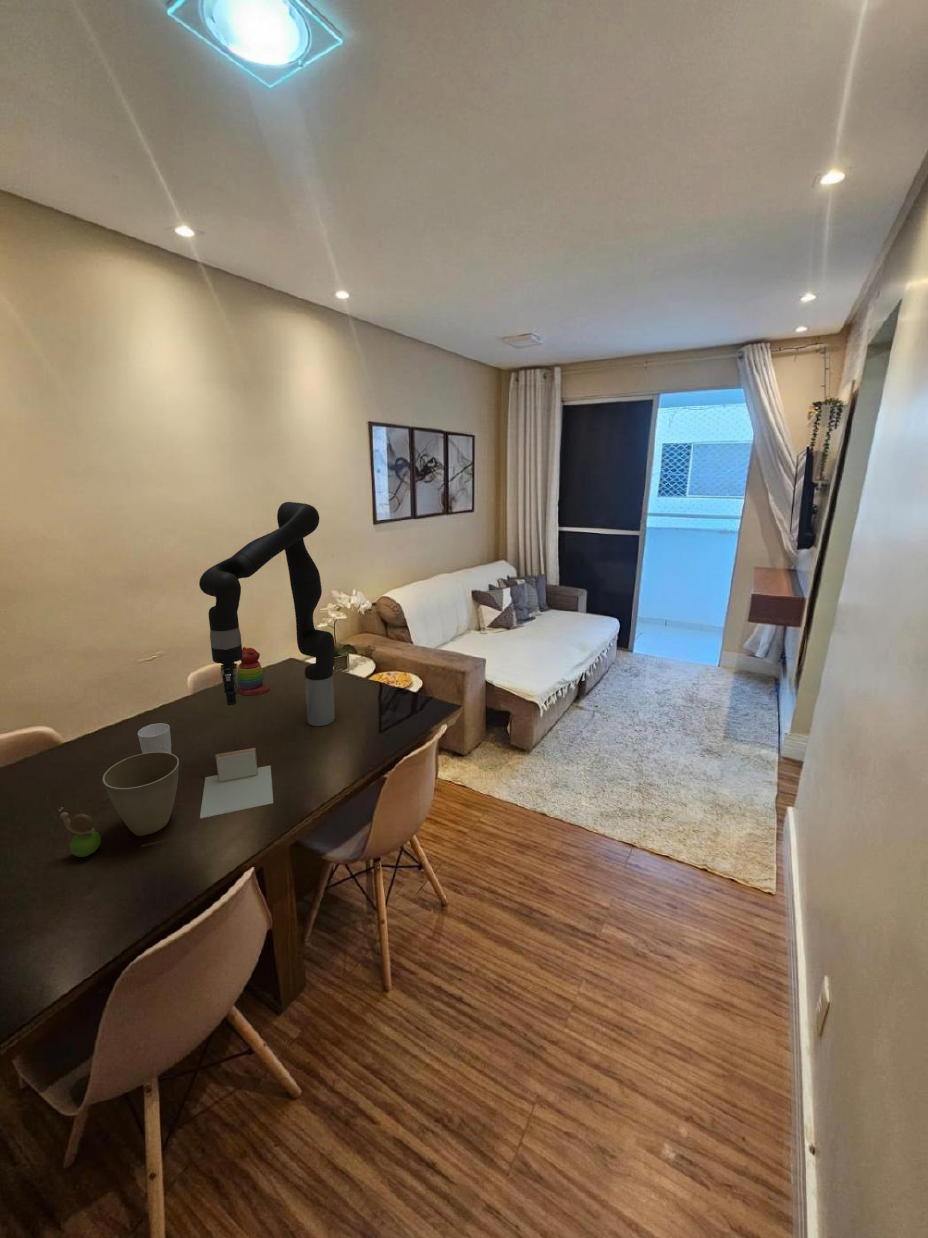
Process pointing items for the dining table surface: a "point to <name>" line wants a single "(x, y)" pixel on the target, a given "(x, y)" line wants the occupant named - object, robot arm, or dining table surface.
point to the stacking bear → (250, 673)
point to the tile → (236, 764)
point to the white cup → (155, 738)
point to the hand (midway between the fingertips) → (232, 699)
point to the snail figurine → (81, 834)
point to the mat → (236, 793)
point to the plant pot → (143, 790)
